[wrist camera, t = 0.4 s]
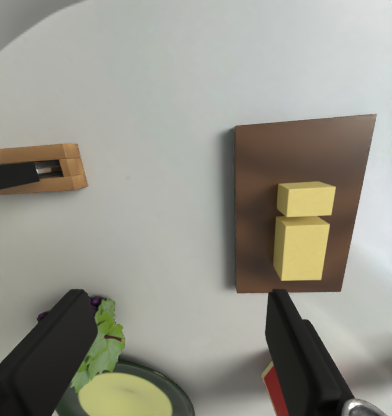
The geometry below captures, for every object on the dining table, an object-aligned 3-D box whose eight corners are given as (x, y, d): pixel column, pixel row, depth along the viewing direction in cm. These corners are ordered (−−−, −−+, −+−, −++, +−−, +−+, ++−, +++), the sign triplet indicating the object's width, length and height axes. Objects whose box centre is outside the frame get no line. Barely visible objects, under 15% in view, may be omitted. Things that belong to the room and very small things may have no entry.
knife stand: (-13, 151, 24) (-38, 152, 22) (77, 144, 23) (62, 143, 21) (3, 191, 26) (-18, 195, 23) (88, 185, 25) (75, 190, 22)
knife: (3, 163, 24) (-107, 172, 16) (68, 158, 24) (-10, 165, 15) (9, 178, 25) (-94, 195, 16) (73, 174, 24) (-1, 189, 16)
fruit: (67, 281, 34) (134, 283, 28) (83, 333, 35) (149, 344, 30) (-9, 325, 24) (69, 341, 19) (16, 393, 26) (96, 427, 20)
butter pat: (277, 183, 22) (288, 189, 19) (319, 181, 21) (336, 186, 18) (276, 208, 22) (286, 217, 20) (315, 206, 22) (331, 215, 19)
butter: (275, 216, 23) (285, 226, 20) (314, 214, 22) (330, 224, 20) (272, 265, 25) (281, 280, 22) (308, 264, 25) (321, 280, 22)
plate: (36, 353, 36) (24, 367, 33) (178, 341, 32) (176, 356, 30) (89, 437, 44) (82, 453, 42) (206, 434, 41) (206, 452, 38)
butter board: (233, 127, 21) (235, 125, 20) (365, 115, 20) (377, 113, 19) (235, 285, 28) (236, 293, 27) (333, 284, 27) (340, 291, 26)
